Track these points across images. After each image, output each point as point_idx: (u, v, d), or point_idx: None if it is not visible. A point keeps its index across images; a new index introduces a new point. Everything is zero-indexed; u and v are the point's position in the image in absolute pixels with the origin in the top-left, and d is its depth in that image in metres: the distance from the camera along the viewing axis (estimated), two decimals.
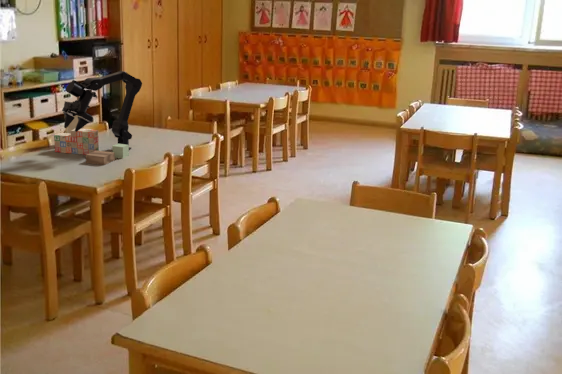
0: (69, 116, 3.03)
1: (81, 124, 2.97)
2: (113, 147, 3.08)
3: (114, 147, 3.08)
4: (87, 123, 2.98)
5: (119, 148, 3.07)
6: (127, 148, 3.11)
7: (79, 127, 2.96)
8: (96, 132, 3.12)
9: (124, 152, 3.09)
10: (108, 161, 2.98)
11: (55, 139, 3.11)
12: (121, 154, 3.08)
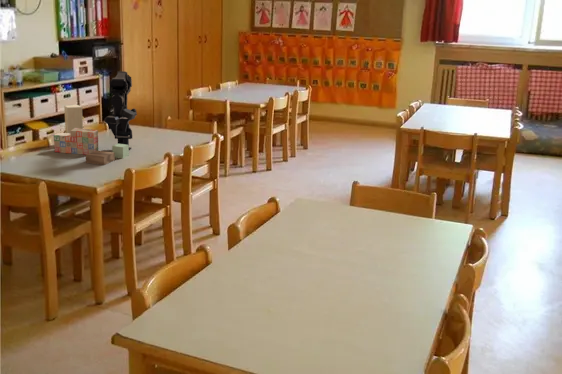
0: None
1: None
2: (113, 147, 3.08)
3: (114, 147, 3.08)
4: None
5: (119, 148, 3.07)
6: (127, 148, 3.11)
7: None
8: (96, 132, 3.12)
9: (124, 152, 3.09)
10: (108, 161, 2.98)
11: (55, 139, 3.11)
12: (121, 154, 3.08)
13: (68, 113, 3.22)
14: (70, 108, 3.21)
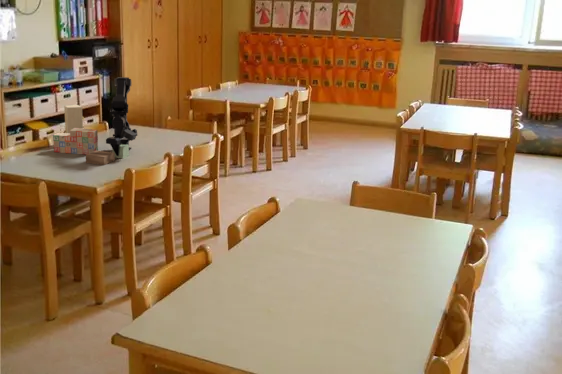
0: None
1: None
2: None
3: None
4: None
5: (119, 148, 3.07)
6: (127, 148, 3.11)
7: None
8: (95, 132, 3.12)
9: (124, 152, 3.09)
10: (108, 161, 2.98)
11: (54, 139, 3.11)
12: (121, 153, 3.07)
13: (68, 113, 3.22)
14: (70, 108, 3.21)
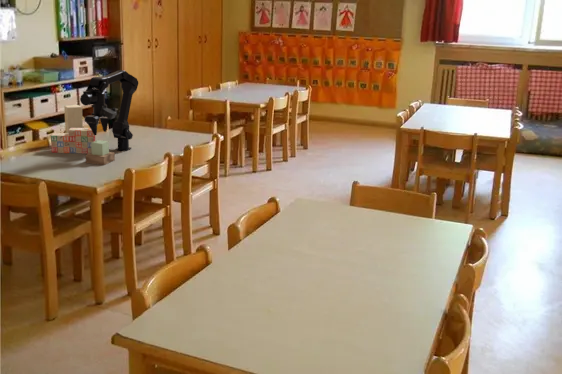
0: None
1: None
2: (92, 144, 2.95)
3: (93, 144, 2.95)
4: None
5: (98, 145, 2.95)
6: (107, 145, 2.99)
7: None
8: None
9: (104, 149, 2.96)
10: (108, 161, 2.98)
11: (52, 139, 3.10)
12: (100, 150, 2.95)
13: (68, 113, 3.22)
14: (70, 108, 3.21)
